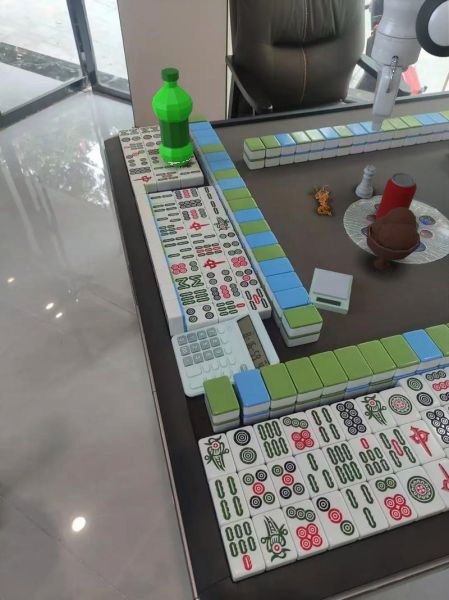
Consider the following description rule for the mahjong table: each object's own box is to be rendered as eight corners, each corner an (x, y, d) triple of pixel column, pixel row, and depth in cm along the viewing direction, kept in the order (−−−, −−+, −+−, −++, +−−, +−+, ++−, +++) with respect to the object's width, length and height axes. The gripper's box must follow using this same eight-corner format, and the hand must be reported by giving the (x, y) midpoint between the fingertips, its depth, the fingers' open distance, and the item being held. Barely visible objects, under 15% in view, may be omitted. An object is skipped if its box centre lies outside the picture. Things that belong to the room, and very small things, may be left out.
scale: (350, 283, 93) (353, 273, 90) (345, 318, 86) (348, 307, 84) (313, 276, 94) (315, 265, 92) (305, 309, 88) (308, 298, 85)
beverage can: (404, 217, 108) (421, 175, 100) (400, 232, 104) (417, 190, 95) (377, 210, 110) (391, 168, 101) (372, 225, 106) (386, 182, 97)
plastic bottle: (152, 162, 125) (140, 70, 107) (180, 149, 130) (174, 60, 112) (173, 176, 120) (164, 82, 102) (202, 162, 125) (199, 71, 107)
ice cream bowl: (349, 253, 99) (366, 198, 88) (397, 251, 100) (419, 196, 89) (362, 286, 92) (382, 231, 81) (413, 283, 93) (440, 228, 82)
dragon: (314, 217, 108) (316, 205, 105) (310, 191, 116) (312, 179, 113) (332, 218, 108) (335, 205, 105) (326, 192, 116) (329, 180, 113)
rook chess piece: (374, 193, 116) (382, 166, 110) (368, 201, 113) (376, 174, 107) (358, 187, 117) (366, 161, 111) (352, 195, 115) (359, 168, 109)
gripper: (413, 70, 75) (390, 144, 85) (413, 33, 88) (393, 102, 99) (376, 66, 76) (357, 139, 87) (382, 30, 89) (365, 98, 100)
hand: (376, 119), depth 93 cm, fingers open, 8 cm apart
